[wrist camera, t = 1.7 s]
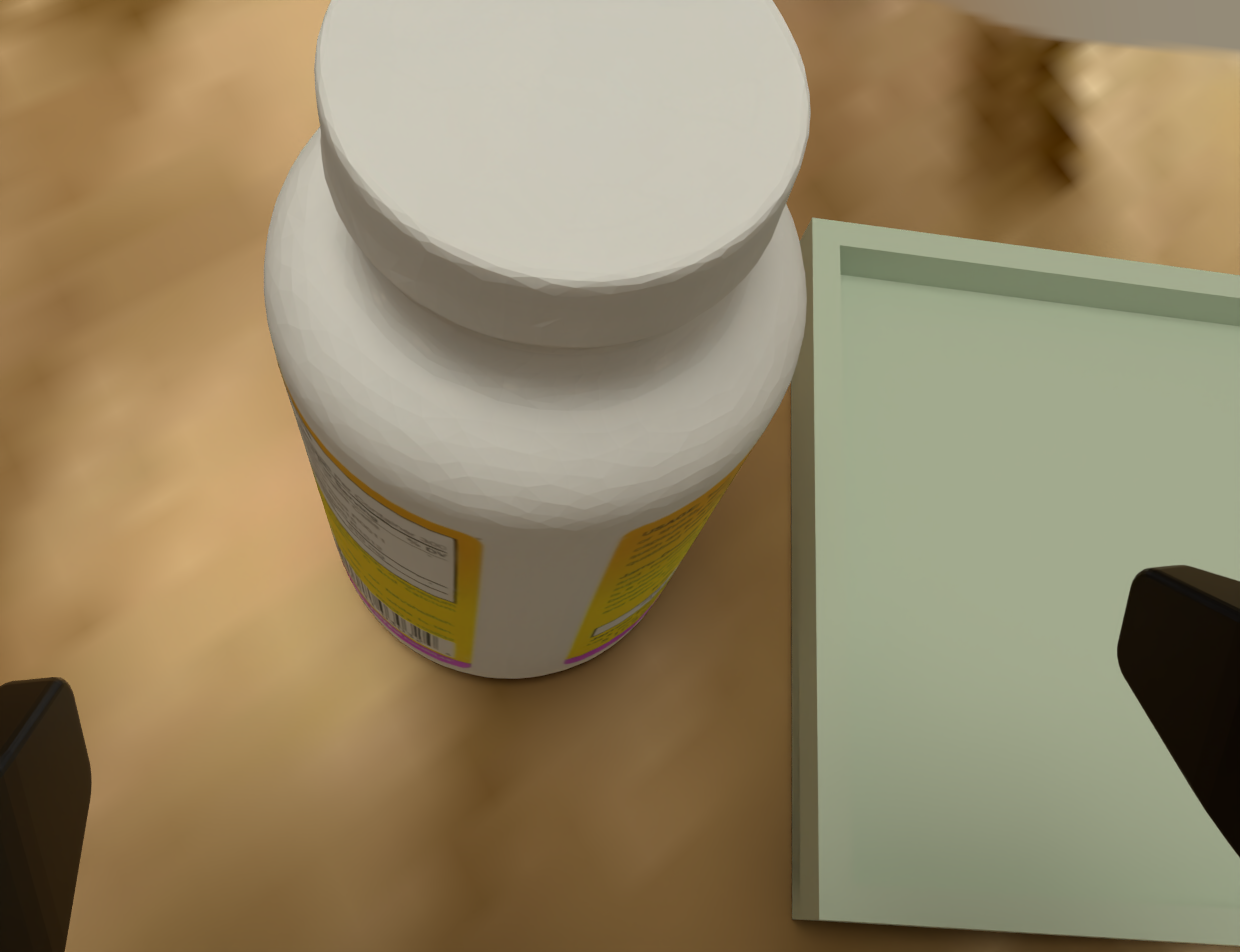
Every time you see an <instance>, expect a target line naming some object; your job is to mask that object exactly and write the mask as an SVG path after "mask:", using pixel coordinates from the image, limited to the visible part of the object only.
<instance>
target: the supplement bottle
mask: <svg viewBox="0 0 1240 952" xmlns="http://www.w3.org/2000/svg"><path fill="white" fill-rule="evenodd" d="M314 70H315V90H316V99H317V108H318V115H319V121H320V127H319V129H318V130H317V131H316V132H315V134H314V135H313V136H312V137H311V139H310V140H309V141H308V143H307V144H306V145H305V147H304V148H303V149H302V151H301V152H300V154H299V156H298V157H297V159H296V161H295V162H294V164H293V166H292V167H291V169H290V171H289V173H288V175H287V178H286V180H285V182H284V184H283V186H282V189H281V191H280V193H279V195H278V198H277V201H276V204H275V207H274V210H273V214H272V218H271V223H270V227H269V231H268V237H267V243H266V251H265V261H264V296H265V306H266V313H267V320H268V326H269V330H270V334H271V338H272V342H273V346H274V350H275V353H276V357H277V361H278V366H279V369H280V372H281V375H282V378H283V381H284V384H285V387H286V390H287V393H288V396H289V399H290V402H291V405H292V408H293V411H294V414H295V417H296V420H297V423H298V427H299V430H300V433H301V436H302V439H303V442H304V445H305V448H306V452H307V455H308V458H309V461H310V464H311V467H312V471H313V474H314V477H315V480H316V483H317V487H318V490H319V493H320V496H321V499H322V502H323V505H324V509H325V512H326V515H327V518H328V521H329V524H330V528H331V531H332V534H333V537H334V540H335V543H336V546H337V549H338V551H339V554H340V557H341V559H342V562H343V565H344V567H345V569H346V571H347V573H348V575H349V578H350V580H351V581H352V583H353V585H354V587H355V589H356V591H357V593H358V594H359V596H360V597H361V599H362V600H363V602H364V603H365V605H366V606H367V608H368V609H369V610H370V611H371V613H372V614H373V615H374V616H375V617H376V618H377V620H378V621H379V622H380V623H381V624H382V625H383V626H384V627H385V628H386V629H387V630H388V631H389V632H390V633H391V634H392V635H393V636H395V637H396V638H397V639H398V640H399V641H401V642H402V643H403V644H405V645H406V646H408V647H409V648H411V649H412V650H414V651H415V652H417V653H419V654H420V655H422V656H424V657H426V658H427V659H429V660H431V661H434V662H436V663H438V664H440V665H442V666H445V667H448V668H451V669H454V670H457V671H460V672H464V673H468V674H473V675H477V676H482V677H489V678H508V679H519V678H530V677H537V676H543V675H547V674H551V673H555V672H559V671H563V670H566V669H569V668H571V667H574V666H576V665H579V664H581V663H584V662H586V661H588V660H590V659H592V658H594V657H596V656H598V655H599V654H601V653H602V652H604V651H605V650H607V649H609V648H610V647H611V646H613V645H614V644H616V643H617V642H618V641H619V640H621V639H622V638H623V637H624V636H625V635H626V634H628V633H629V632H630V631H631V630H632V629H633V628H634V627H635V626H636V625H637V624H638V623H639V622H640V621H641V619H642V618H643V617H644V616H645V615H646V613H647V612H648V611H649V609H650V608H651V607H652V605H653V604H654V602H655V601H656V600H657V599H658V597H659V596H660V594H661V592H662V591H663V589H664V588H665V586H666V585H667V583H668V582H669V580H670V578H671V577H672V575H673V574H674V572H675V570H676V569H677V567H678V566H679V564H680V563H681V561H682V559H683V558H684V556H685V555H686V553H687V552H688V550H689V548H690V547H691V545H692V544H693V542H694V540H695V539H696V537H697V536H698V534H699V533H700V531H701V529H702V528H703V526H704V524H705V523H706V521H707V520H708V518H709V516H710V515H711V513H712V511H713V510H714V508H715V507H716V505H717V504H718V502H719V500H720V499H721V497H722V496H723V494H724V493H725V491H726V490H727V488H728V486H729V485H730V483H731V482H732V480H733V479H734V477H735V475H736V474H737V472H738V471H739V469H740V468H741V466H742V464H743V463H744V461H745V460H746V458H747V456H748V455H749V453H750V452H751V450H752V449H753V448H754V446H755V445H756V443H757V442H758V440H759V438H760V437H761V435H762V434H763V432H764V431H765V429H766V428H767V426H768V424H769V422H770V421H771V419H772V417H773V415H774V414H775V412H776V410H777V409H778V407H779V405H780V403H781V401H782V399H783V397H784V395H785V393H786V390H787V388H788V386H789V384H790V382H791V380H792V377H793V374H794V371H795V368H796V365H797V361H798V357H799V353H800V349H801V345H802V341H803V337H804V330H805V323H806V306H807V294H806V279H805V270H804V265H803V259H802V252H801V247H800V242H799V238H798V235H797V232H796V228H795V225H794V221H793V219H792V216H791V214H790V212H789V209H788V207H787V205H786V202H787V200H788V197H789V195H790V192H791V190H792V187H793V185H794V182H795V180H796V177H797V175H798V172H799V170H800V167H801V163H802V160H803V156H804V152H805V148H806V144H807V140H808V136H809V125H810V95H809V89H808V84H807V79H806V73H805V68H804V65H803V62H802V59H801V55H800V52H799V49H798V47H797V45H796V43H795V41H794V39H793V36H792V34H791V32H790V30H789V28H788V26H787V24H786V23H785V21H784V19H783V17H782V15H781V13H780V12H779V10H778V8H777V7H776V5H775V3H774V2H773V1H772V0H331V2H330V5H329V7H328V9H327V11H326V14H325V16H324V19H323V23H322V26H321V29H320V33H319V36H318V39H317V47H316V56H315V69H314Z"/></svg>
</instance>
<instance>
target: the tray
mask: <svg viewBox="0 0 1240 952" xmlns="http://www.w3.org/2000/svg"><path fill="white" fill-rule="evenodd" d="M800 247H801V252H802V259H803V265H804V270H805V279H806V294H807V306H806V323H805V330H804V337H803V341H802V345H801V349H800V353H799V357H798V361H797V365H796V368H795V371H794V374H793V377H792V380H791V543H792V919H797V920H814V921H830V922H846V923H862V924H878V925H895V926H911V927H927V928H943V929H959V930H976V931H992V932H1008V933H1024V934H1040V935H1057V936H1073V937H1089V938H1105V939H1122V940H1138V941H1154V942H1170V943H1186V944H1203V945H1219V946H1235V947H1240V858H1239V856H1238V855H1237V854H1236V852H1235V851H1234V850H1233V848H1232V847H1231V846H1230V844H1229V843H1228V842H1227V840H1226V839H1225V838H1224V836H1223V835H1222V834H1221V832H1220V831H1219V829H1218V828H1217V826H1216V825H1215V824H1214V822H1213V821H1212V819H1211V818H1210V817H1209V815H1208V814H1207V812H1206V811H1205V809H1204V808H1203V806H1202V805H1201V803H1200V801H1199V800H1198V798H1197V797H1196V795H1195V794H1194V792H1193V791H1192V789H1191V787H1190V786H1189V784H1188V782H1187V781H1186V779H1185V777H1184V776H1183V774H1182V772H1181V771H1180V769H1179V768H1178V766H1177V764H1176V763H1175V761H1174V759H1173V758H1172V756H1171V754H1170V753H1169V751H1168V749H1167V748H1166V746H1165V744H1164V743H1163V741H1162V739H1161V738H1160V736H1159V734H1158V733H1157V731H1156V730H1155V728H1154V726H1153V725H1152V723H1151V721H1150V720H1149V718H1148V716H1147V715H1146V713H1145V711H1144V710H1143V708H1142V706H1141V705H1140V703H1139V701H1138V700H1137V698H1136V696H1135V695H1134V693H1133V692H1132V690H1131V688H1130V687H1129V685H1128V683H1127V682H1126V680H1125V678H1124V677H1123V675H1122V673H1121V670H1120V667H1119V664H1118V659H1117V644H1118V639H1119V635H1120V630H1121V626H1122V622H1123V617H1124V613H1125V608H1126V604H1127V600H1128V595H1129V591H1130V587H1131V584H1132V581H1133V579H1134V578H1135V576H1136V575H1137V574H1138V573H1139V572H1140V571H1142V570H1143V569H1146V568H1152V567H1162V566H1171V565H1187V566H1192V567H1195V568H1198V569H1201V570H1205V571H1208V572H1211V573H1215V574H1218V575H1221V576H1224V577H1228V578H1231V579H1234V580H1237V581H1240V275H1232V274H1225V273H1218V272H1210V271H1203V270H1195V269H1188V268H1181V267H1173V266H1166V265H1158V264H1151V263H1144V262H1136V261H1129V260H1122V259H1114V258H1107V257H1099V256H1092V255H1085V254H1077V253H1070V252H1062V251H1055V250H1048V249H1040V248H1033V247H1025V246H1018V245H1011V244H1003V243H996V242H988V241H981V240H974V239H966V238H959V237H951V236H944V235H937V234H929V233H922V232H914V231H907V230H900V229H892V228H885V227H878V226H870V225H863V224H855V223H848V222H841V221H833V220H826V219H818V218H812V219H811V221H810V223H809V225H808V227H807V229H806V231H805V233H804V234H803V236H802V238H801V240H800Z"/></svg>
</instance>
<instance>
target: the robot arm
mask: <svg viewBox="0 0 1240 952" xmlns="http://www.w3.org/2000/svg"><path fill="white" fill-rule="evenodd" d="M1117 659H1118V664H1119V667H1120V670H1121V673H1122V675H1123V677H1124V678H1125V680H1126V682H1127V683H1128V685H1129V687H1130V688H1131V690H1132V692H1133V693H1134V695H1135V696H1136V698H1137V700H1138V701H1139V703H1140V705H1141V706H1142V708H1143V710H1144V711H1145V713H1146V715H1147V716H1148V718H1149V720H1150V721H1151V723H1152V725H1153V726H1154V728H1155V730H1156V731H1157V733H1158V734H1159V736H1160V738H1161V739H1162V741H1163V743H1164V744H1165V746H1166V748H1167V749H1168V751H1169V753H1170V754H1171V756H1172V758H1173V759H1174V761H1175V763H1176V764H1177V766H1178V768H1179V769H1180V771H1181V772H1182V774H1183V776H1184V777H1185V779H1186V781H1187V782H1188V784H1189V786H1190V787H1191V789H1192V791H1193V792H1194V794H1195V795H1196V797H1197V798H1198V800H1199V801H1200V803H1201V805H1202V806H1203V808H1204V809H1205V811H1206V812H1207V814H1208V815H1209V817H1210V818H1211V819H1212V821H1213V822H1214V824H1215V825H1216V826H1217V828H1218V829H1219V831H1220V832H1221V834H1222V835H1223V836H1224V838H1225V839H1226V840H1227V842H1228V843H1229V844H1230V846H1231V847H1232V848H1233V850H1234V851H1235V852H1236V854H1237V855H1238V856H1239V858H1240V581H1237V580H1234V579H1231V578H1228V577H1224V576H1221V575H1218V574H1215V573H1211V572H1208V571H1205V570H1201V569H1198V568H1195V567H1192V566H1187V565H1171V566H1162V567H1152V568H1146V569H1143V570H1142V571H1140V572H1139V573H1138V574H1137V575H1136V576H1135V578H1134V579H1133V581H1132V584H1131V587H1130V591H1129V595H1128V600H1127V604H1126V608H1125V613H1124V617H1123V622H1122V626H1121V630H1120V635H1119V639H1118V644H1117ZM90 797H91V768H90V762H89V757H88V753H87V749H86V745H85V740H84V736H83V732H82V728H81V723H80V719H79V715H78V711H77V706H76V702H75V698H74V694H73V691H72V689H71V687H70V685H69V684H68V682H66V681H65V680H64V679H62V678H59V677H50V678H40V679H30V680H20V681H12V682H8V683H5V684H3V685H2V686H0V952H65V947H66V941H67V935H68V929H69V923H70V917H71V911H72V905H73V899H74V893H75V887H76V881H77V875H78V869H79V863H80V857H81V851H82V845H83V839H84V833H85V827H86V821H87V815H88V809H89V803H90Z"/></svg>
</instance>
